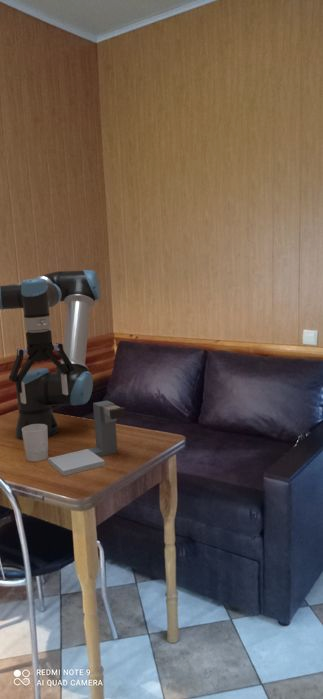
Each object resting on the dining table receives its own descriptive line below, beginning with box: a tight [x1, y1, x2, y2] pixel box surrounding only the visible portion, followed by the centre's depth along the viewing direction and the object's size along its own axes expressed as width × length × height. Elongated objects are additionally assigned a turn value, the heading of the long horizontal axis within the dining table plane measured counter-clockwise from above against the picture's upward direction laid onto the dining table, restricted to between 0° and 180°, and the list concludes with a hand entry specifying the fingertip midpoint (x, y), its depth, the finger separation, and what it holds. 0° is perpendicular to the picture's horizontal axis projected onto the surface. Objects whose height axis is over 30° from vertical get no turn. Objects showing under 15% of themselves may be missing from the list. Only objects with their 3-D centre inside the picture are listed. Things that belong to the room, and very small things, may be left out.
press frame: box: [47, 400, 118, 477], centre depth 162 cm, size 13×21×16 cm, turn 121°
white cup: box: [22, 424, 49, 462], centre depth 168 cm, size 8×8×10 cm
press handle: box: [101, 403, 127, 423], centre depth 163 cm, size 8×4×5 cm, turn 31°
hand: (44, 398), depth 165 cm, fingers open, 13 cm apart
